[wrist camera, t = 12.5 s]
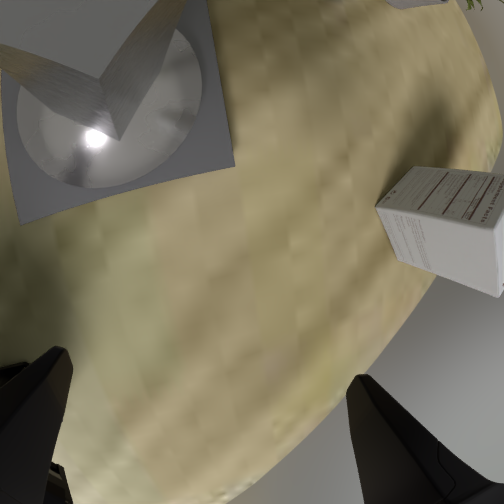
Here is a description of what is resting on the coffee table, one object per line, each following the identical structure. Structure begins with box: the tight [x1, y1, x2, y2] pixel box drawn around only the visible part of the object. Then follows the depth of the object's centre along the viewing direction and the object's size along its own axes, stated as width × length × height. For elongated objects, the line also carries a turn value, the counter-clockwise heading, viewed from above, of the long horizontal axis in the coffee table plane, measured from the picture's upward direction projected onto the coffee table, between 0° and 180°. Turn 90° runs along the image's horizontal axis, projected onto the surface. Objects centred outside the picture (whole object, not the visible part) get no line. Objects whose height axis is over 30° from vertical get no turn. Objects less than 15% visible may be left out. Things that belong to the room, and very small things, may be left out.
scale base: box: [1, 0, 235, 225], centre depth 13 cm, size 14×16×5 cm
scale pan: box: [17, 29, 202, 188], centre depth 14 cm, size 11×11×1 cm
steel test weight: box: [0, 0, 187, 141], centre depth 8 cm, size 4×4×11 cm
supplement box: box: [375, 166, 504, 298], centre depth 22 cm, size 7×7×13 cm
